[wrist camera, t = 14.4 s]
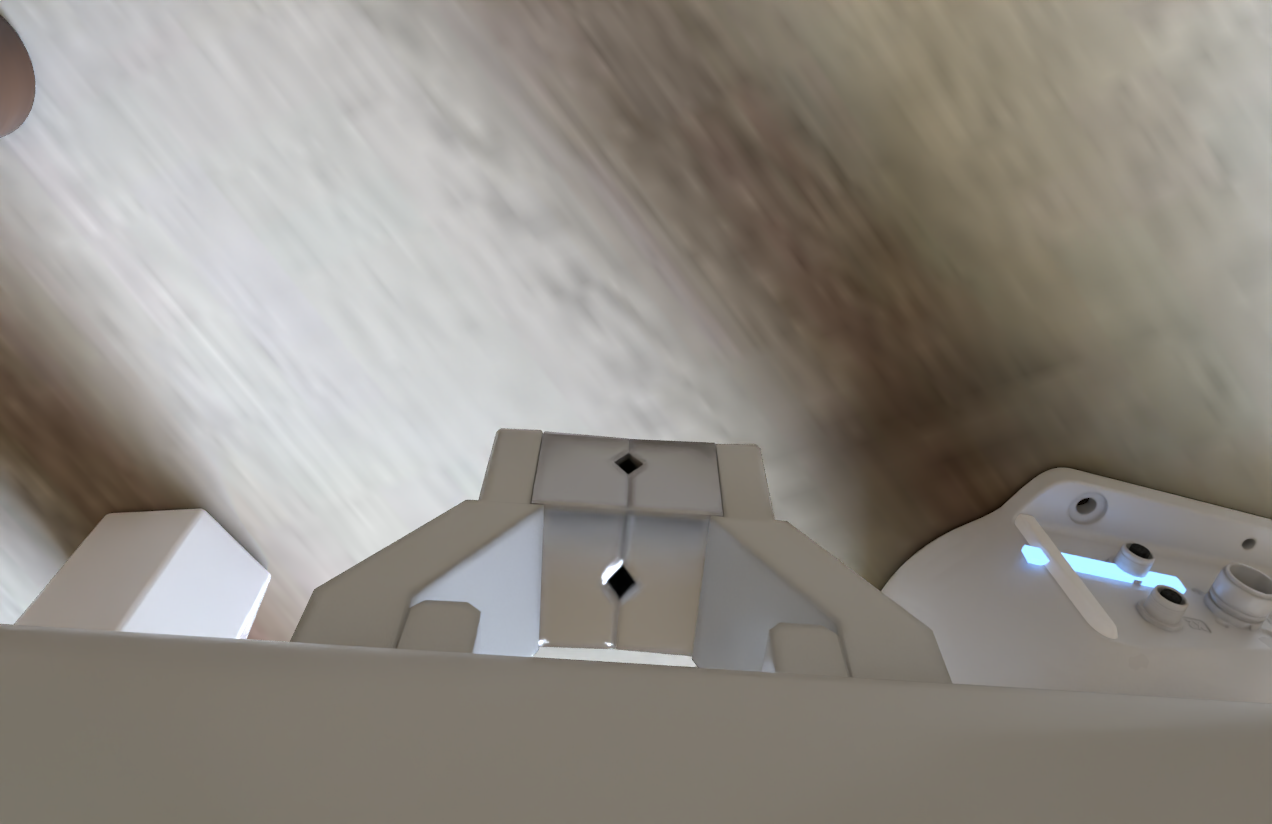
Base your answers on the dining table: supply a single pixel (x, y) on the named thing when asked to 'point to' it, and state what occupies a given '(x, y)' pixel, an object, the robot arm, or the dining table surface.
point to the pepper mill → (14, 80)
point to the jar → (155, 579)
